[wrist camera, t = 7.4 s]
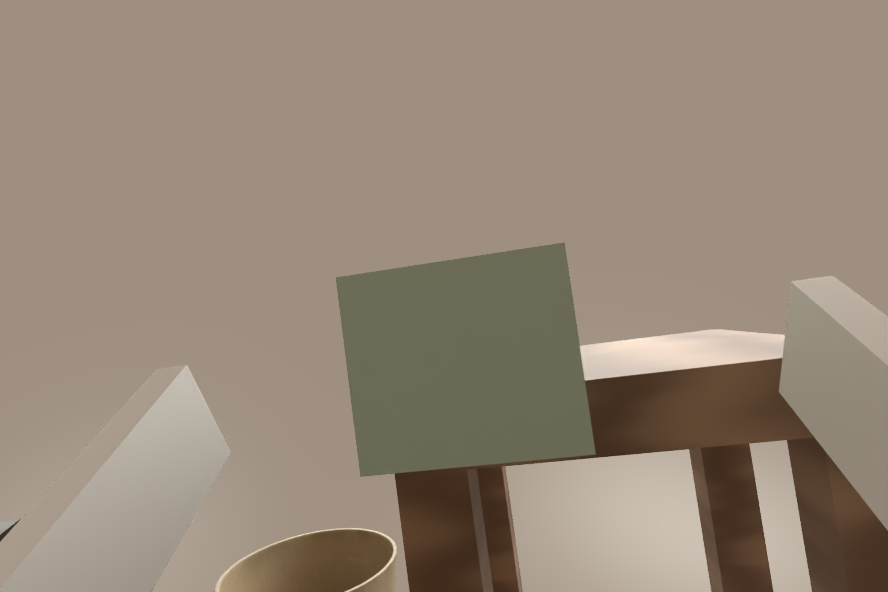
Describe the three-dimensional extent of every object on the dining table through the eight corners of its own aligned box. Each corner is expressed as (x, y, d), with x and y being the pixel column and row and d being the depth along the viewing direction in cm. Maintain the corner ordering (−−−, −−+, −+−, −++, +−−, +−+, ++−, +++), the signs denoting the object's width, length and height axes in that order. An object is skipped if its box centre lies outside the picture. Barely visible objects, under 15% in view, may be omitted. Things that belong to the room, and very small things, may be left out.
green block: (480, 359, 33) (473, 303, 33) (546, 351, 32) (538, 294, 33) (361, 476, 9) (336, 277, 9) (596, 454, 9) (564, 242, 9)
